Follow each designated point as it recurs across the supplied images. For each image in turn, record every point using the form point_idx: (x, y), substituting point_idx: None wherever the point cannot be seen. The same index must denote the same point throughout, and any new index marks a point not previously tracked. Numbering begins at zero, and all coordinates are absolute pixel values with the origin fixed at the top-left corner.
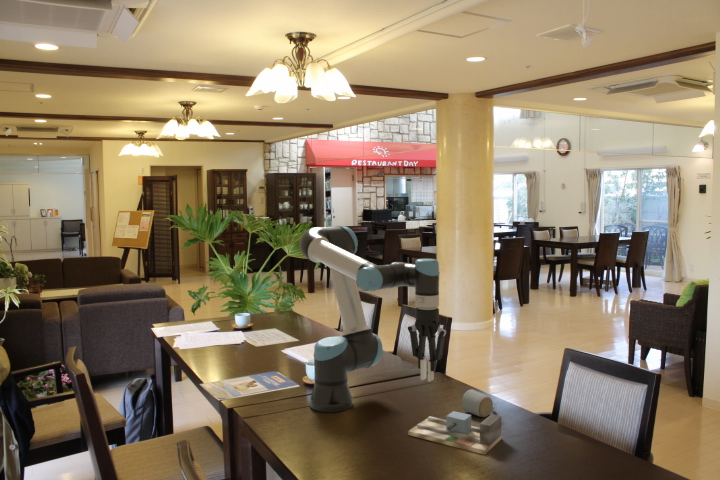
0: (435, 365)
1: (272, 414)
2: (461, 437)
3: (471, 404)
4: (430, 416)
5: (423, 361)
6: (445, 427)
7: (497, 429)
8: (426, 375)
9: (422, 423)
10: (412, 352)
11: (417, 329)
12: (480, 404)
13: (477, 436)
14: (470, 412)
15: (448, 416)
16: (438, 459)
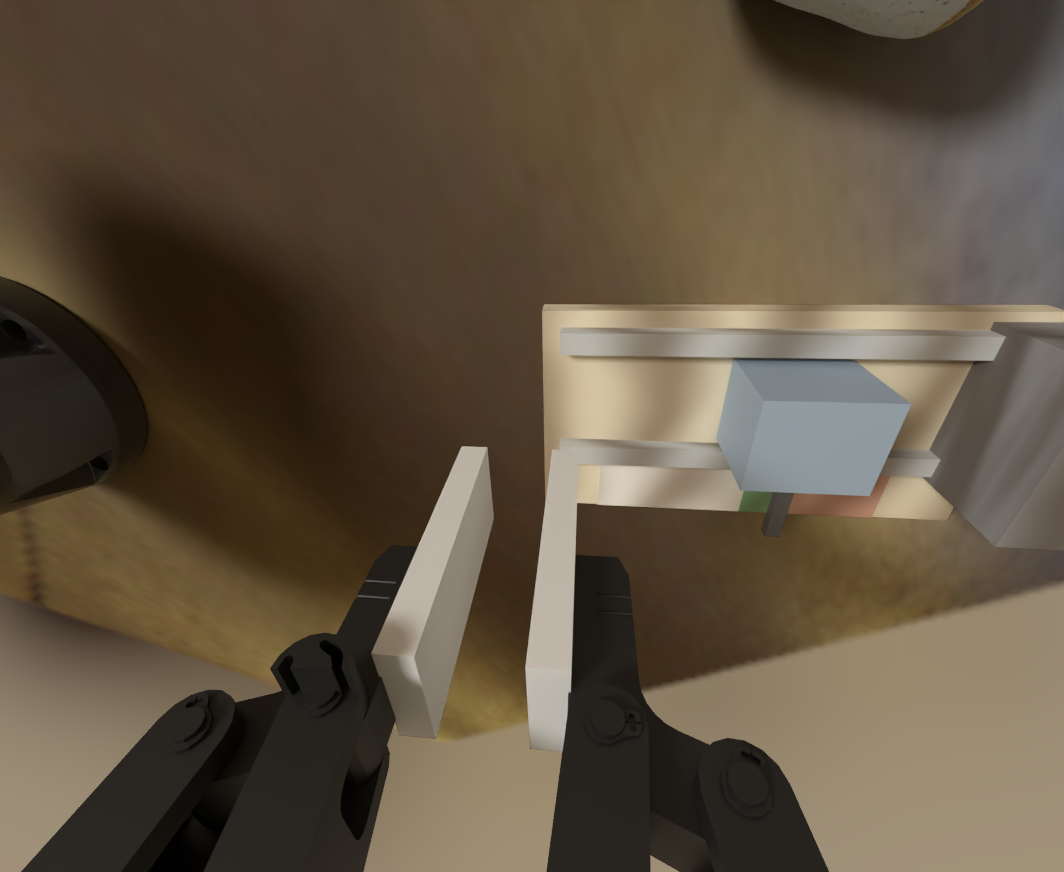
0: (631, 636)
1: (46, 556)
2: None
3: (848, 5)
4: (567, 334)
5: (437, 693)
6: (691, 385)
7: None
8: (481, 465)
9: (558, 401)
10: (183, 840)
11: None
12: (972, 5)
13: None
14: None
15: (755, 490)
16: (745, 598)
